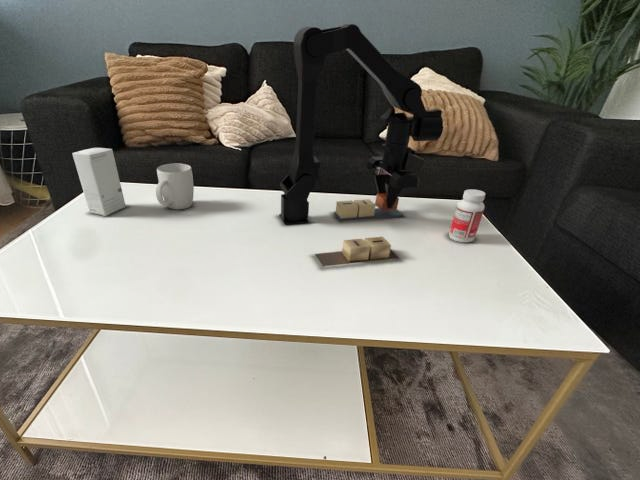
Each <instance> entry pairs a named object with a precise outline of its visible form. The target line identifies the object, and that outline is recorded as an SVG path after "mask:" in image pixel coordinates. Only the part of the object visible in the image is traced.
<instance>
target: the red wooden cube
mask: <svg viewBox="0 0 640 480" xmlns="http://www.w3.org/2000/svg"><path fill="white" fill-rule="evenodd" d="M375 196H376V197H375V202H374V204H375V205H376V206H375V207H377V208H379V209H381V210H395V209H396V210H398V206H399V201H400V198H399V196H398V197H397V199H396V201H395V203H394V205H393V207H392V208H388V206H387V198H386V193H381V194H378V193H376V195H375Z"/></svg>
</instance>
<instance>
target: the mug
mask: <svg viewBox="0 0 640 480" xmlns="http://www.w3.org/2000/svg"><path fill="white" fill-rule="evenodd" d="M156 174H157V180H158V183H157V185H156V188H155V197H156V200H157V202H158V203H159V204H160V205H161V206H165V207H168V208H169V209H172V210H185V209H188V208H190V207H191V206H192V205H193V201H194V194H195V193H194V191H195V190H194V189H195V188H194V187H195V186H194V177H193V170H192V167H191V165H189V164H185V163H181V162H180V163H178V162H177V163H176V162H175V163H174V162H173V163H166V164H162V165H159V166H157V167H156Z"/></svg>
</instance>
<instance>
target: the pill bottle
mask: <svg viewBox="0 0 640 480" xmlns="http://www.w3.org/2000/svg"><path fill="white" fill-rule="evenodd" d="M485 198H486V192H485V191H483V190H480V189H475V188H474V189H472V188H471V189H465V190H464V191H463V195H462V199H460V200H459V201H458V202H457V205H456V207H455V211H454V213H453V218H452V222H451V225H450V228H449V233H448V236H449V238H450V239H451V240H453V241H455V242H458V243H472V242H473V241H475V239H476V236H477V233H478V230H479V227H480V224H481V220H482V217H483V214H484V211H485V207H486V206H485V203H484V200H485Z"/></svg>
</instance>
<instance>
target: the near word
mask: <svg viewBox="0 0 640 480" xmlns="http://www.w3.org/2000/svg"><path fill="white" fill-rule="evenodd" d="M391 248H392V244H391V243H390V242H389V241H388V240H387V239H386V238H385V237H384V236H376V237H374V236H373V237H364V239H363V238H354V239H353V238H352V239H343V240H342V248H341V251H332V252H321V253H315V254H314V256H315V257H316V258H317V260H318V262H319V263H320V265H322V267H328V266H329V267H330V266H337V265H338V266H339V265H348V264H359V263H367V262H377V261H387V260H396V259H400V257H399V256H398V255H397V254H396V253H395V252H394V251H393V250H392V249H391Z"/></svg>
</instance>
